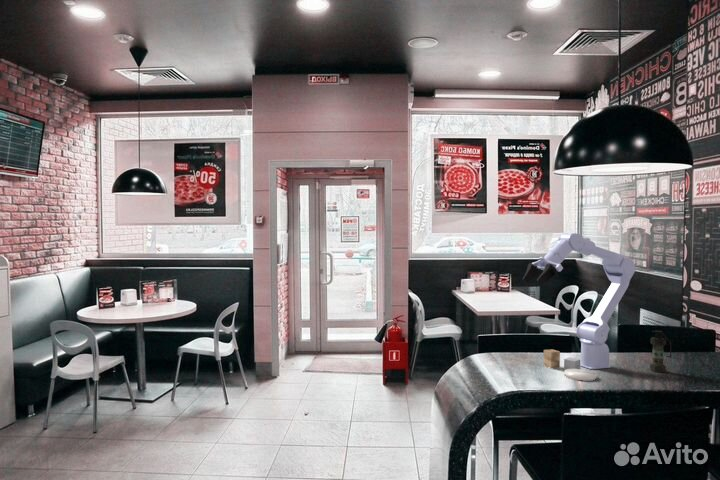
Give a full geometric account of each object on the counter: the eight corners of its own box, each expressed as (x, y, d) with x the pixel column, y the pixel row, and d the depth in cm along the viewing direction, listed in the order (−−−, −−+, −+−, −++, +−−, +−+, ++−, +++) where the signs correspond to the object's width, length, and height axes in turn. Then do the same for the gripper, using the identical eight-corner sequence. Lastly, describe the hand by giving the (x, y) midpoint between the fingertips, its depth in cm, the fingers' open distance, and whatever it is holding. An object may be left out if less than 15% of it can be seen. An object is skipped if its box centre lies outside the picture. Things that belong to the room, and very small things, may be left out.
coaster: (580, 371, 171) (580, 367, 171) (603, 379, 162) (603, 375, 162) (558, 374, 168) (558, 369, 168) (579, 382, 158) (579, 377, 158)
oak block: (552, 365, 180) (552, 349, 181) (559, 367, 177) (559, 351, 177) (543, 365, 179) (543, 350, 179) (551, 368, 175) (551, 352, 175)
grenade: (669, 370, 174) (670, 329, 174) (672, 374, 169) (673, 332, 169) (649, 368, 177) (649, 328, 177) (651, 372, 172) (651, 330, 172)
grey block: (569, 368, 176) (569, 357, 176) (580, 370, 173) (580, 359, 173) (564, 370, 174) (564, 359, 174) (574, 372, 171) (574, 361, 171)
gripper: (535, 248, 180) (512, 272, 176) (563, 249, 166) (539, 275, 163) (545, 262, 181) (522, 286, 178) (574, 264, 167) (550, 290, 164)
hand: (531, 282), depth 170 cm, fingers open, 7 cm apart
